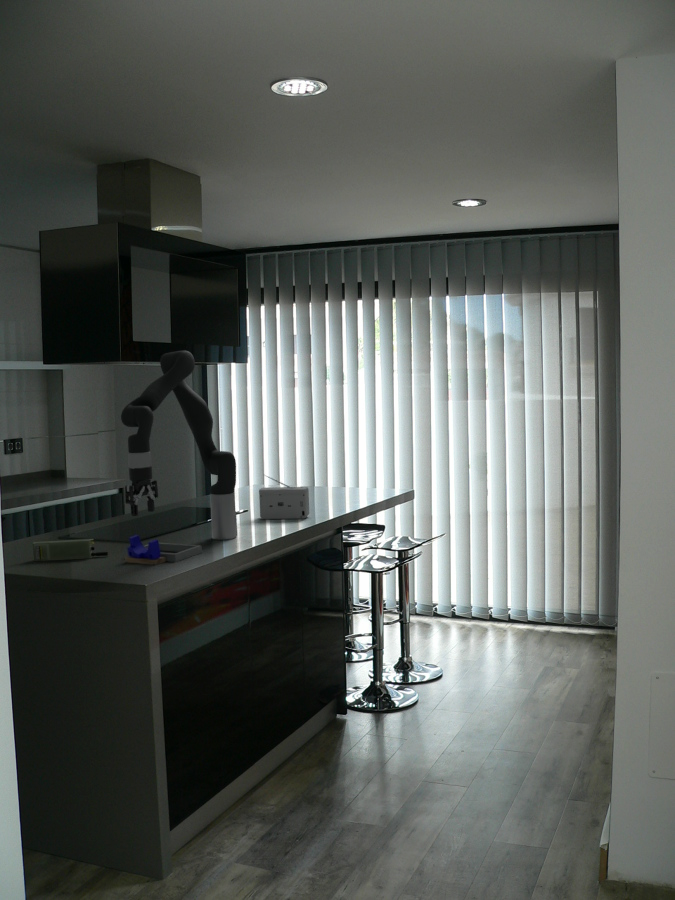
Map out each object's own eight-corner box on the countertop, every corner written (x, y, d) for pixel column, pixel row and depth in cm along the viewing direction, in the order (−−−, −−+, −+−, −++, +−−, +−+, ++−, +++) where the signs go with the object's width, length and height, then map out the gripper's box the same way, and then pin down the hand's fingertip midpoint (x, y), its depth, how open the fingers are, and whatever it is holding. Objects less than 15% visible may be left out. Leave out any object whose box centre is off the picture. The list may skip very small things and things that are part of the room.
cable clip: (128, 555, 290) (125, 539, 288) (139, 551, 293) (136, 534, 291) (150, 561, 282) (147, 544, 280) (161, 556, 285) (158, 540, 284)
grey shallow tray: (155, 549, 308) (154, 542, 308) (201, 552, 300) (201, 545, 299) (127, 557, 295) (127, 550, 295) (175, 561, 286) (175, 554, 286)
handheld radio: (35, 560, 297) (108, 556, 300) (33, 562, 294) (107, 558, 297) (34, 541, 297) (107, 537, 299) (32, 543, 293) (106, 539, 296)
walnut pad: (134, 559, 293) (134, 554, 292) (165, 561, 287) (165, 557, 287) (125, 562, 288) (124, 557, 288) (156, 564, 282) (155, 560, 282)
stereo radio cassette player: (309, 516, 370) (308, 470, 368) (307, 519, 361) (305, 472, 360) (262, 517, 372) (260, 471, 370) (258, 520, 364) (256, 473, 362)
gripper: (144, 463, 293) (147, 509, 294) (117, 468, 280) (120, 516, 281) (162, 463, 289) (165, 510, 291) (135, 468, 277) (138, 517, 278)
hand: (143, 513), depth 286 cm, fingers open, 8 cm apart
